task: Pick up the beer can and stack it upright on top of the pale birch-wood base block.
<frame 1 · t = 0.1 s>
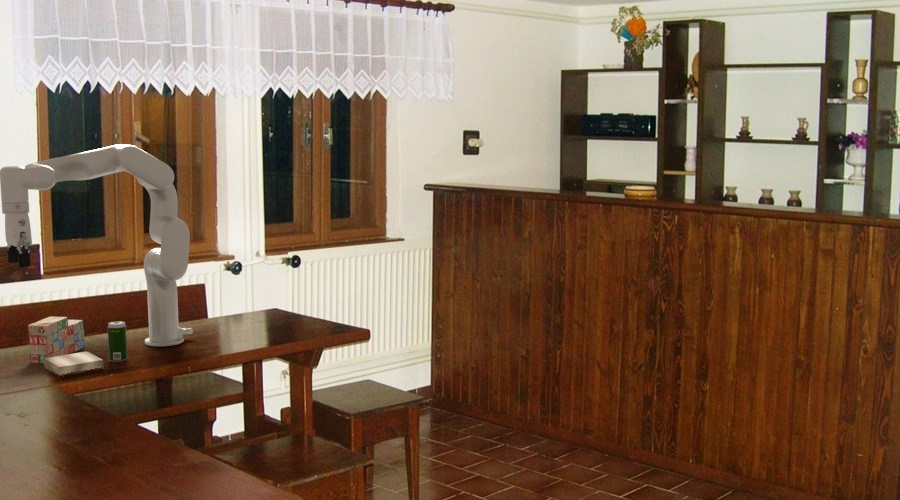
hand: (19, 264, 314), 31 cm above the table, tool pointing down, fingers open, 9 cm apart
stack of blocks: (58, 356, 331), on the table
birch base block: (74, 368, 315), on the table
beer can: (118, 361, 324), on the table
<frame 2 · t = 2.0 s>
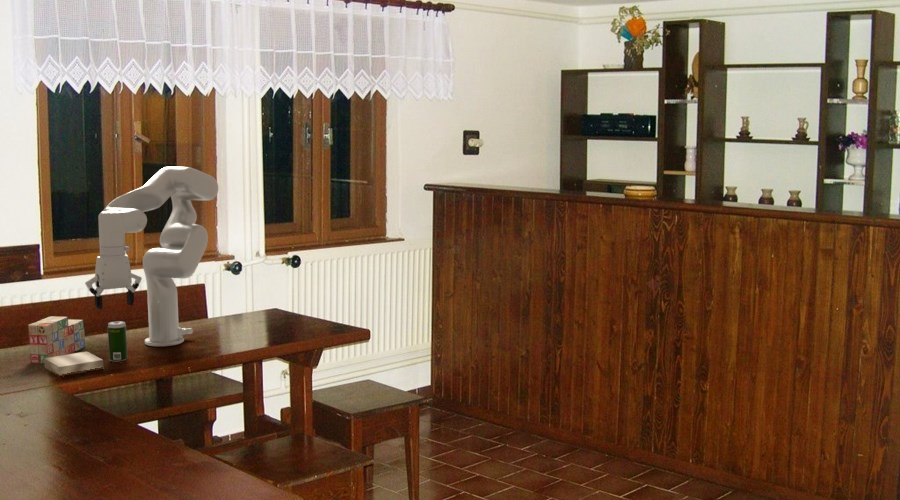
hand: (114, 306, 321), 17 cm above the table, tool pointing down, fingers open, 9 cm apart
nothing on the table moved.
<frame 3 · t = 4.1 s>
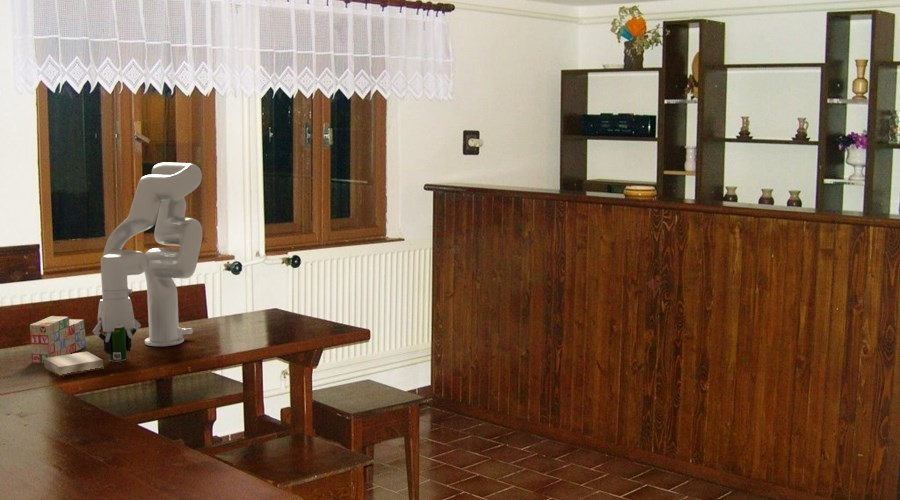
hand: (118, 351, 323), 3 cm above the table, tool pointing down, fingers closed on beer can, 5 cm apart
beer can: (118, 361, 324), on the table, touching gripper
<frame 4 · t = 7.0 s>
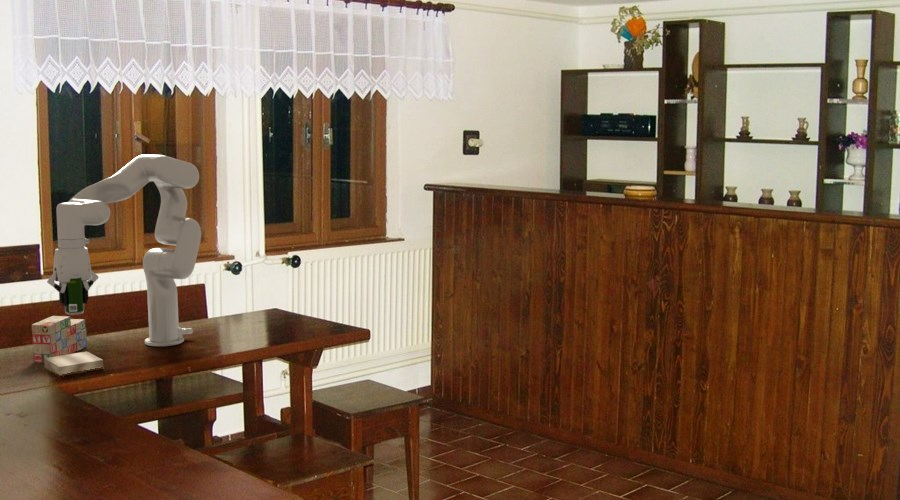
hand: (74, 303, 312), 20 cm above the table, tool pointing down, fingers closed on beer can, 5 cm apart
beer can: (74, 313, 313), point 17 cm above the table, touching gripper
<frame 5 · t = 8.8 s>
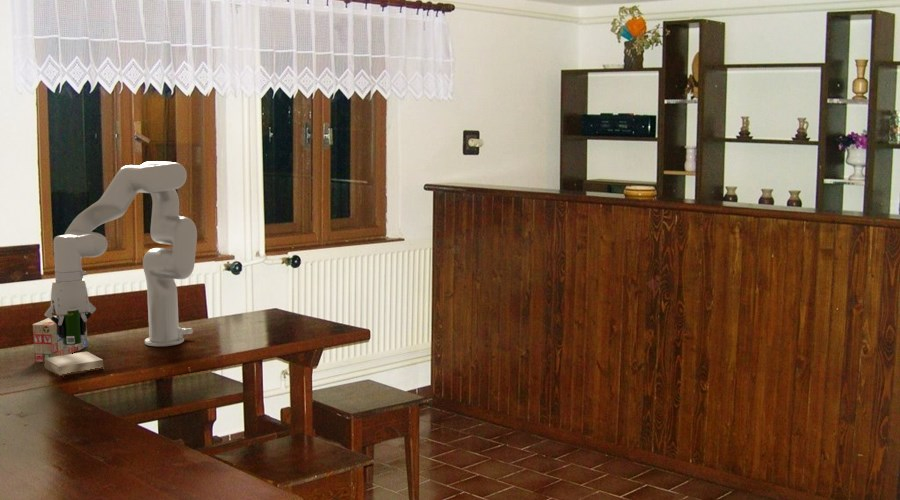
hand: (71, 335, 313), 10 cm above the table, tool pointing down, fingers closed on beer can, 5 cm apart
beer can: (72, 345, 313), point 7 cm above the table, touching gripper
when the fingers open (7 cm above the table, at t = 10.2 s): beer can drops 1 cm, resting on birch base block.
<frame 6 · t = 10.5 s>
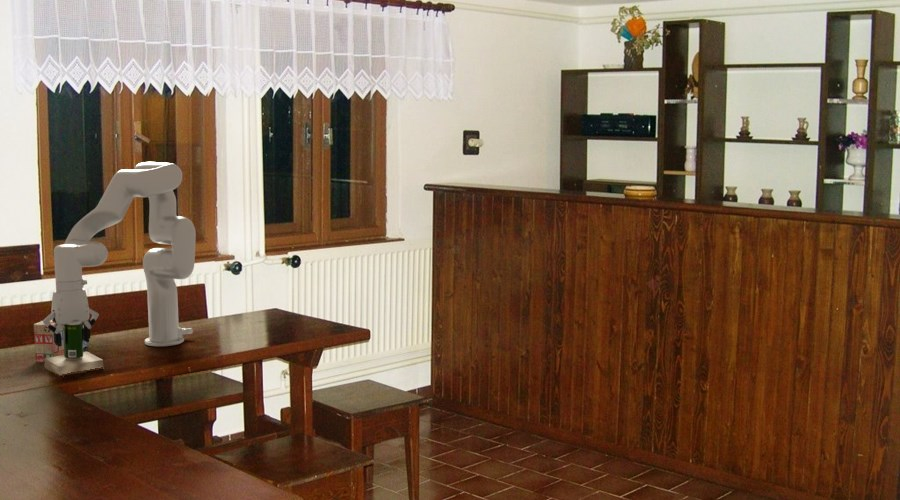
hand: (72, 343, 313), 8 cm above the table, tool pointing down, fingers open, 7 cm apart
beer can: (73, 359, 314), point 3 cm above the table, touching birch base block
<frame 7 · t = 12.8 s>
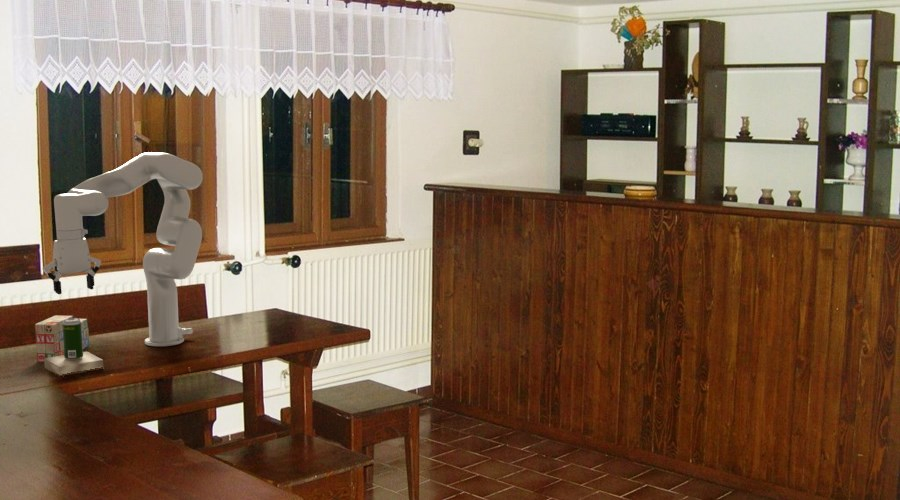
hand: (74, 291, 314), 23 cm above the table, tool pointing down, fingers open, 9 cm apart
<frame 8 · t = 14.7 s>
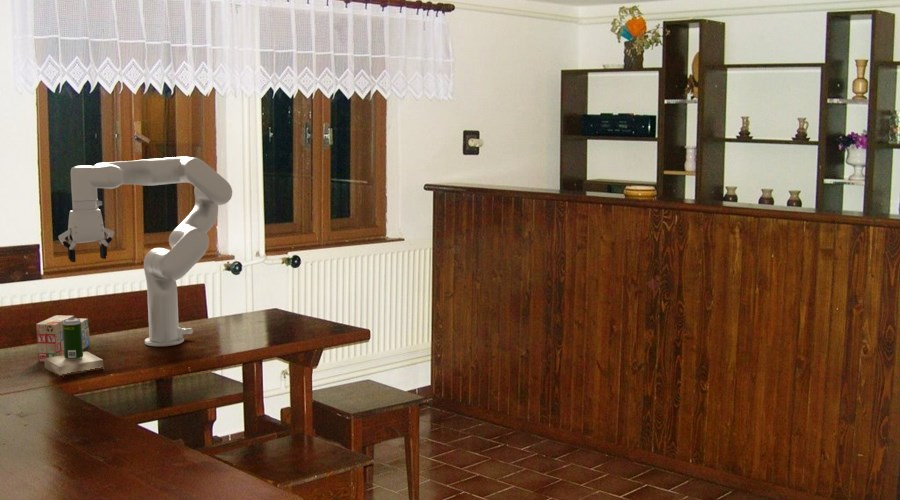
hand: (88, 260, 327), 30 cm above the table, tool pointing down, fingers open, 9 cm apart
at the end: beer can inside the target area on the birch base block (0.1 cm from its centre), point 2.8 cm above the birch base block's base; beer can tilted 0°; beer can touching birch base block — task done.
